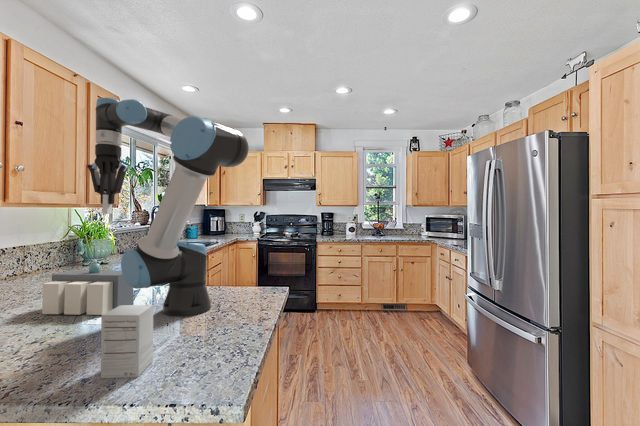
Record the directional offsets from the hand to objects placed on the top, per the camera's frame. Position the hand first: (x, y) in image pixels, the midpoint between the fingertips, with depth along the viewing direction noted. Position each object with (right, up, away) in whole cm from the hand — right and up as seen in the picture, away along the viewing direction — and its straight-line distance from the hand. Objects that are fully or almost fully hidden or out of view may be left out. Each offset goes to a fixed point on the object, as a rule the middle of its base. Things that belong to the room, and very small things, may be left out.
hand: (107, 213), depth 111 cm
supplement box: (+33, -33, -43) cm, 63 cm away
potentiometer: (-5, -20, +1) cm, 21 cm away
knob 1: (-12, -32, -2) cm, 34 cm away
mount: (-5, -32, -1) cm, 33 cm away
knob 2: (+2, -32, -2) cm, 32 cm away
